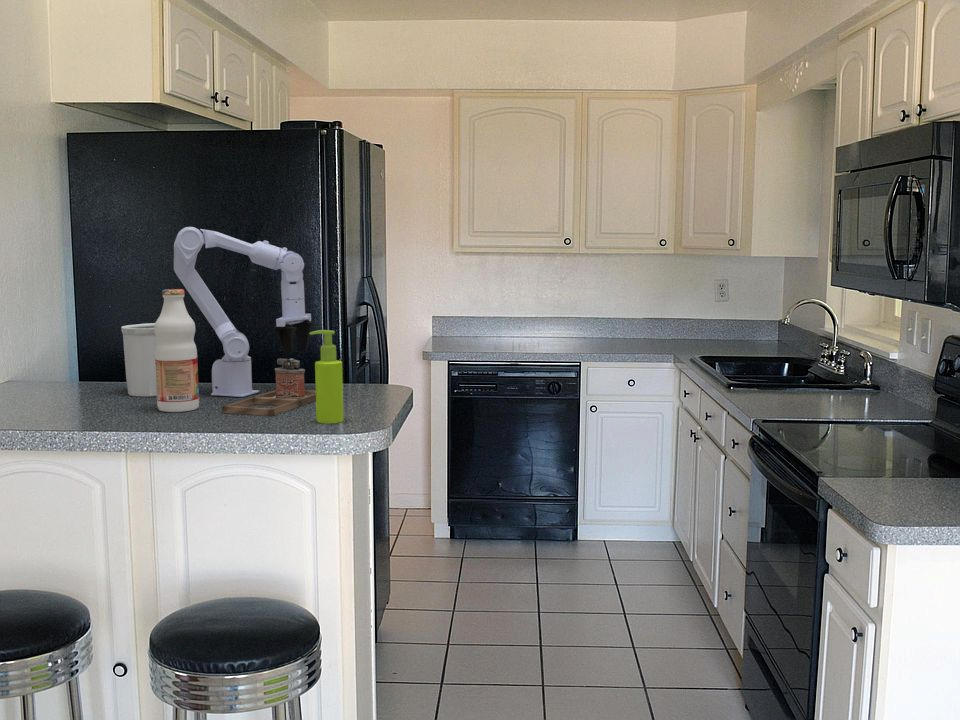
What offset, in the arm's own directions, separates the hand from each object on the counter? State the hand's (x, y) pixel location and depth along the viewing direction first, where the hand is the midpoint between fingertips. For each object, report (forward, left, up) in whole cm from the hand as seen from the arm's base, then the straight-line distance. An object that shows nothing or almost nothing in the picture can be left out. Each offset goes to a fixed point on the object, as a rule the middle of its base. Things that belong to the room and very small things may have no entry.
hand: (295, 351), depth 254 cm
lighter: (+5, -12, -10) cm, 16 cm away
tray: (+5, -18, -10) cm, 21 cm away
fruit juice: (-14, -30, -11) cm, 35 cm away
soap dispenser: (+26, -32, -11) cm, 43 cm away
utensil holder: (-34, -12, -11) cm, 38 cm away
